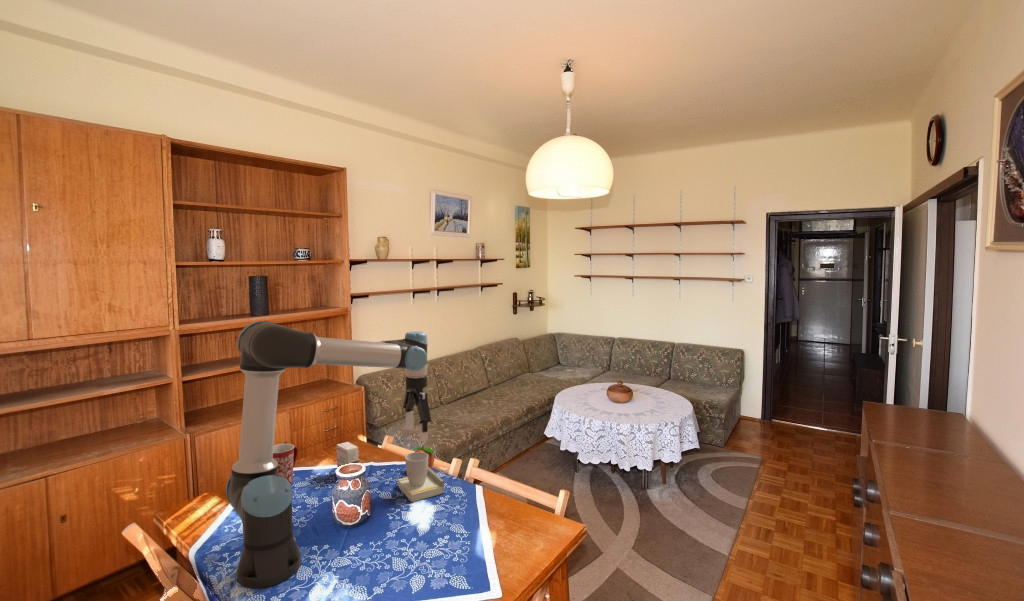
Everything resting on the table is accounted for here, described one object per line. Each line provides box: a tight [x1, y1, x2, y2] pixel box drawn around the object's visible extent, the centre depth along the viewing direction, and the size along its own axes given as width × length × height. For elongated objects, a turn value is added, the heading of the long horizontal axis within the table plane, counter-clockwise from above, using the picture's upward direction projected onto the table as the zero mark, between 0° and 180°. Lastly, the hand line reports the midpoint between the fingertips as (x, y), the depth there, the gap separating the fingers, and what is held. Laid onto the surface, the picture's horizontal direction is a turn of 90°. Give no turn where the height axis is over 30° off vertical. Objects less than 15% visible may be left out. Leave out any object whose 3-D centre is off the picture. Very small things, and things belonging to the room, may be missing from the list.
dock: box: [397, 467, 445, 503], centre depth 174 cm, size 14×12×4 cm
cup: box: [404, 451, 428, 487], centre depth 173 cm, size 8×8×10 cm
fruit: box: [412, 444, 435, 470], centre depth 190 cm, size 9×10×10 cm
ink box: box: [336, 441, 360, 467], centre depth 185 cm, size 9×5×12 cm, turn 47°
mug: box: [273, 443, 299, 485], centre depth 180 cm, size 13×9×14 cm
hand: (416, 435), depth 172 cm, fingers open, 13 cm apart
